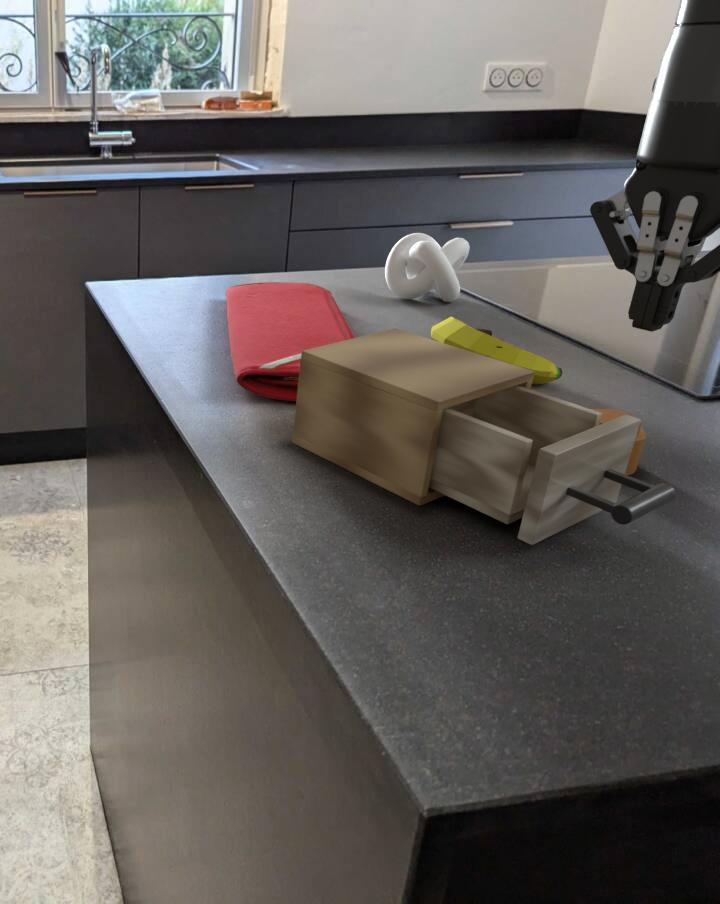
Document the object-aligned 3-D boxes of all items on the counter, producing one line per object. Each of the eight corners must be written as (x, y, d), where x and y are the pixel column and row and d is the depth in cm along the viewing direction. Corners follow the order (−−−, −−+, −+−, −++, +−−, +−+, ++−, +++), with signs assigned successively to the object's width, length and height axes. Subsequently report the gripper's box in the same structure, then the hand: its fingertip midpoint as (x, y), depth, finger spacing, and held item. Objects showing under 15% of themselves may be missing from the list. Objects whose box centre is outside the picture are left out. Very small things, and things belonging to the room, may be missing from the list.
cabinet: (512, 468, 73) (535, 371, 69) (419, 506, 66) (438, 401, 63) (382, 414, 84) (395, 328, 80) (291, 442, 77) (301, 350, 74)
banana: (545, 357, 87) (607, 352, 96) (408, 310, 99) (474, 310, 108) (530, 398, 89) (591, 389, 98) (397, 347, 101) (463, 343, 110)
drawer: (679, 529, 62) (709, 441, 58) (595, 576, 56) (624, 481, 53) (468, 443, 75) (483, 368, 72) (384, 474, 70) (397, 394, 66)
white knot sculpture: (419, 283, 133) (428, 226, 129) (485, 299, 124) (497, 239, 120) (372, 293, 127) (380, 234, 124) (438, 310, 118) (449, 248, 115)
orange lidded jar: (588, 445, 77) (600, 401, 75) (647, 466, 73) (662, 421, 71) (555, 459, 74) (567, 414, 73) (615, 482, 70) (629, 435, 68)
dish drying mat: (331, 302, 122) (334, 277, 120) (384, 408, 85) (389, 374, 84) (224, 299, 123) (226, 275, 122) (231, 402, 87) (233, 368, 85)
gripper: (844, 97, 56) (759, 341, 64) (644, 91, 66) (591, 303, 74) (798, 100, 52) (714, 358, 60) (593, 94, 62) (543, 316, 70)
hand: (646, 327), depth 67 cm, fingers closed
